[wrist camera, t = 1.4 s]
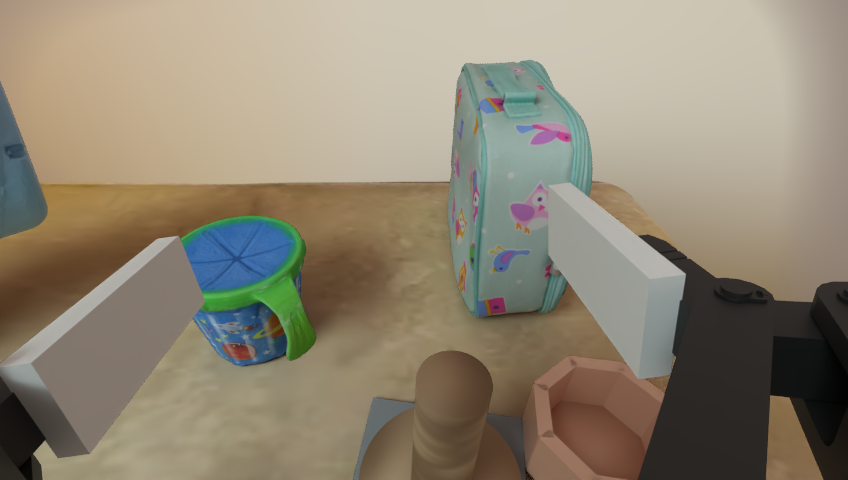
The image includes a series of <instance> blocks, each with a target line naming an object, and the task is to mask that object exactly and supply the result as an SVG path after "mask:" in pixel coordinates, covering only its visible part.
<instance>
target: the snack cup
mask: <svg viewBox="0 0 848 480" xmlns="http://www.w3.org/2000/svg"><path fill="white" fill-rule="evenodd" d="M180 240H181V242H182V244H183V247H184V249H185V252H186V254H187V257H188V259H189V262H190V264H191V267H192V269H193V272H194V274H195V277H196V279H197V282H198V284H199V287H200V289H201V292H202V294H203V297H204V299H205V303H204V304H203V305H202V307H201V308H200V309H199V310H198V312H197V313H196V314H195V316H194V317H193V318H192V319H193V320H194V322H195V323H196V324H197V326H198V327H199V329H200V330H201V332H202V333H203V334H204V336H205V337H206V338H207V339H208V340H209V342H210V344H211V346H212V347H213V348H214V349H215V350H216V352H217V353H218V354H219V355H220V356H221V357H222V358H224V359H226V360H228V361H230V362H232V363H233V364H234V365H239V366H244V365H249V364H251V365H253V364H258V363H262V362H265V361H268V360H271V359H273V358H275V357H278V356H279V357H280V356H282V355H283V354H284V353H285V352H286V356H287V359H288V360H290V361H292V360H295V359H297V358H299V357H301V356H302V355H303V354H304V353H306V352H307V351H308V350H309V349H310V348H311V347H312V346H313V345H314V343H315V340H316V333H315V332H314V330H313V328H312V326H311V324H310V322H309V320H308V317H307V315H306V313H305V310H304V308H303V304H302V302H301V294H300V291H301V269H302V266H303V262H304V256H305V253H306V246H305V242H304V240H303V239H302V238H301V236H300V234H299V233H298V231H297V230H296V229H295V228H294V227H293V226H292V225H290V224H288V223H286V222H284V221H282V220H279V219H276V218H271V217H265V216H239V217H232V218H227V219H222V220H218V221H215V222H212V223H209V224H207V225H204V226H202V227H199V228H198V229H196V230H194V231H192V232H190V233H188V234H187V235H185V236H184V237H182V238H181V239H180Z"/></svg>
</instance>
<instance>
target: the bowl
mask: <svg viewBox="0 0 848 480" xmlns="http://www.w3.org/2000/svg"><path fill="white" fill-rule="evenodd" d="M664 395H665V393H664V392H663V391H661V390H660V389H658V388H657V387H656V386H654V385H653V384H652V383H650V382H649V381H648V380H646V379H638V378H637V377H636V376H635V374H634V373H633V371H632V370H631V369H630V367H629V366H628V365H626V364H625V363H623V364H622V362H618V361H610V360H602V359H594V358H586V357H578V356H571V355H569V356H567V357H565V358H564V359H563V360H561V361H560V362H559V363H558V364H556V365H555V366H554V367H553V368H551V369H550V370H549V371H547V372H546V373H545V374H544V375H542V376H541V377H540V378H538V379H537V380H536V381H535V382H534V383H533V386H532V389H531V392H530V395H529V398H528V401H527V404H526V408H525V411H524V414H523V417H522V420H523V440H524V456H525V467H526V469H527V472H528V473H529V474H530V475H531V476H532V477H533V479H534V480H638V477H639V474H640V471H641V467H642V464H643V461H644V458H645V455H646V452H647V448H648V445H649V442H650V439H651V436H652V433H653V429H654V426H655V423H656V420H657V417H658V414H659V410H660V407H661V404H662V401H663V398H664Z"/></svg>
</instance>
